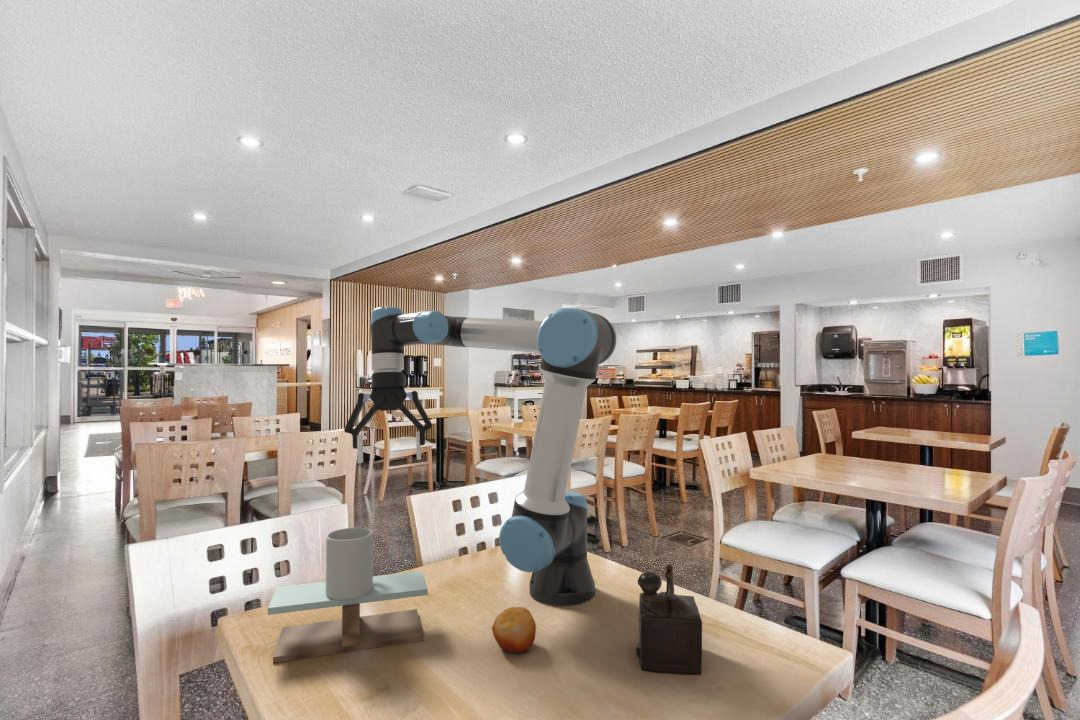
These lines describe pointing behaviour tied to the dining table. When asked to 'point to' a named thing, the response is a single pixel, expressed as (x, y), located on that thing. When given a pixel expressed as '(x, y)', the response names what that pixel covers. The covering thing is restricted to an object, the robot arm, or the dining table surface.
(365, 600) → the plank
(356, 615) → the fulcrum stand
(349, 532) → the mug
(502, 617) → the fruit
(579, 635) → the dining table surface
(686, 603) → the manual coffee grinder
